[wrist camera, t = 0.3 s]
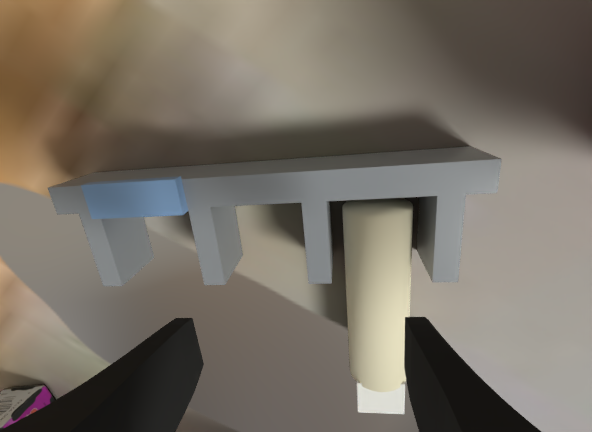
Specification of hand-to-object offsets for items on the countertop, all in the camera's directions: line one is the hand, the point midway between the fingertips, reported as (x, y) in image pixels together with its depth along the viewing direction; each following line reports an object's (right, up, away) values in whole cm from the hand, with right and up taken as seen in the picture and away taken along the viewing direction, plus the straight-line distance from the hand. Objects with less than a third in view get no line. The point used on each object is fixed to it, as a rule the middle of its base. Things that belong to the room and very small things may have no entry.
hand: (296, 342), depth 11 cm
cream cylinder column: (+5, -1, +10) cm, 11 cm away
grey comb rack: (-1, +5, +9) cm, 10 cm away
